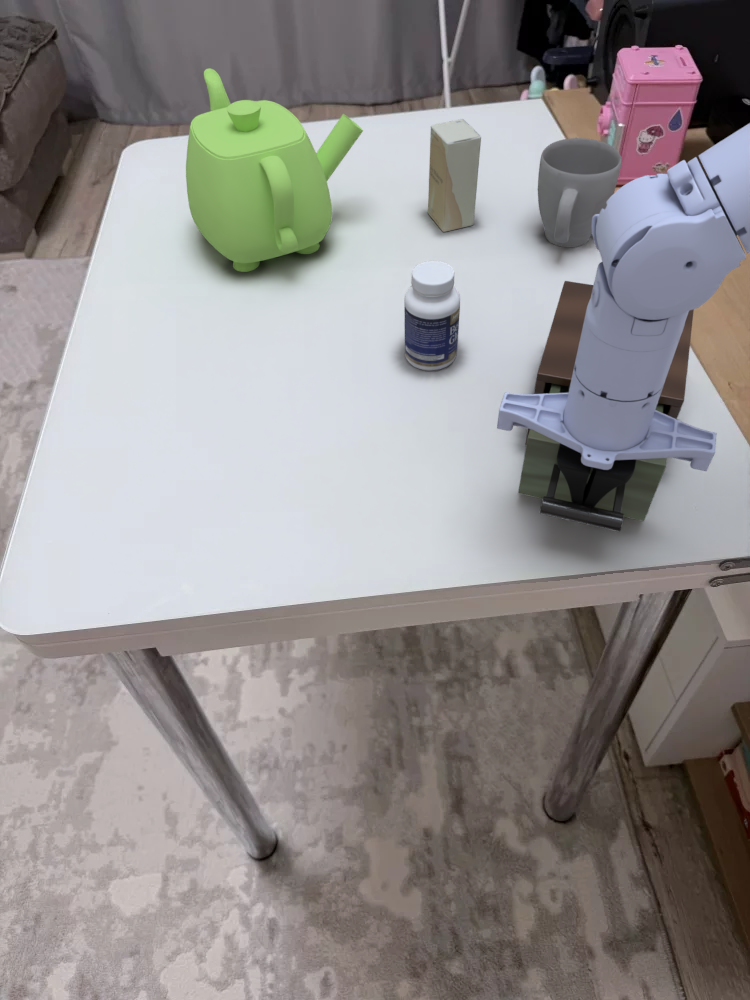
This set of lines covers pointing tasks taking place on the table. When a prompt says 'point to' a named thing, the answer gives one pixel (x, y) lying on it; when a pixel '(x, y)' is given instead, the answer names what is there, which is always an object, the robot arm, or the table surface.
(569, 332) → the cabinet
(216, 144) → the teapot
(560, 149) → the mug
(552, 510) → the drawer
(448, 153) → the box
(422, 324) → the pill bottle
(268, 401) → the table surface
